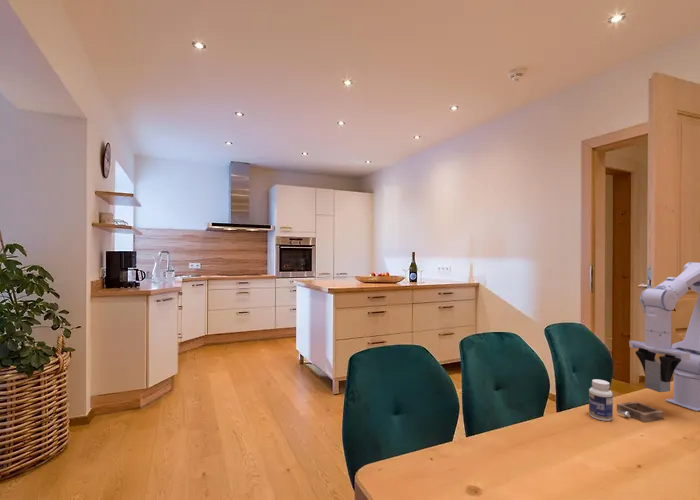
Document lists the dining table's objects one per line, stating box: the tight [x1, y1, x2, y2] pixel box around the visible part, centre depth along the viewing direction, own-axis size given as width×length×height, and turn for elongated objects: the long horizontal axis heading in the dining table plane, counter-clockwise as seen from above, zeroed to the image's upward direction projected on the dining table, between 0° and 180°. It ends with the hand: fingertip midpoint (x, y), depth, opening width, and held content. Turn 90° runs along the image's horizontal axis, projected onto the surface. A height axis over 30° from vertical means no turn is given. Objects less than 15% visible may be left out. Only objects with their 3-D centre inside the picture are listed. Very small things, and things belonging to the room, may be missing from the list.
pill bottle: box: [588, 378, 614, 422], centre depth 101 cm, size 5×5×10 cm
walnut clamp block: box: [616, 400, 665, 423], centre depth 103 cm, size 10×7×2 cm
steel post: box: [644, 358, 671, 393], centre depth 105 cm, size 4×4×8 cm
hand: (657, 378), depth 105 cm, fingers closed on steel post, 4 cm apart
